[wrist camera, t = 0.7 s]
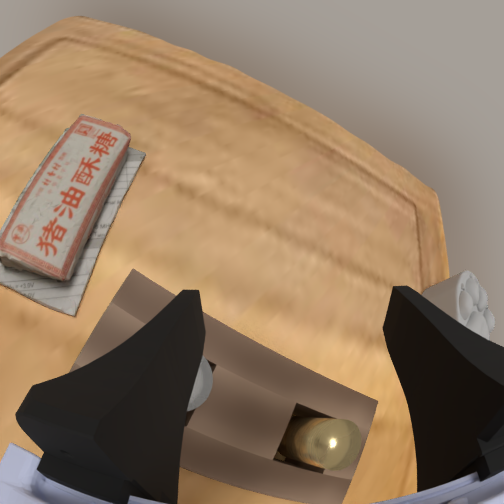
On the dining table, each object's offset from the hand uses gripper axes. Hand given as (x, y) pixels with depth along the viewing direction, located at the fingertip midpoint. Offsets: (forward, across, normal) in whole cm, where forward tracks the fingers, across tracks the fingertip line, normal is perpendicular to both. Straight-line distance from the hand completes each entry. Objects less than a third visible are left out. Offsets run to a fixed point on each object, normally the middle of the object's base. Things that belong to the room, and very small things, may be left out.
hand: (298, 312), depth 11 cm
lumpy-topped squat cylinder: (+22, -23, +21) cm, 38 cm away
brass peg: (+3, -1, +15) cm, 16 cm away
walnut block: (+6, +5, +15) cm, 17 cm away
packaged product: (+14, +20, 0) cm, 24 cm away
